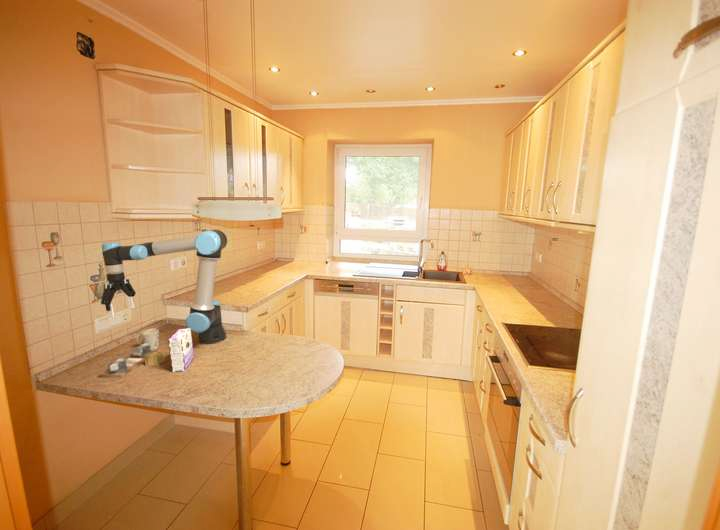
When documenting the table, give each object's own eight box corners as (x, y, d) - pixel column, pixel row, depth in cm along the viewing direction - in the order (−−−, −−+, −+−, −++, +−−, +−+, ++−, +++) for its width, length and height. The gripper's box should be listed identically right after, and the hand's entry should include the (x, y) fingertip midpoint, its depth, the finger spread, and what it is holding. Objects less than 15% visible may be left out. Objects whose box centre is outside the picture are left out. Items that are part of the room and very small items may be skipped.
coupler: (164, 361, 170) (162, 351, 169) (157, 365, 165) (156, 356, 164) (152, 361, 170) (151, 351, 169) (145, 365, 165) (144, 356, 164)
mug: (155, 351, 182) (152, 333, 180) (132, 351, 182) (129, 334, 180) (164, 345, 190) (161, 328, 188) (142, 345, 190) (139, 328, 189)
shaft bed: (138, 353, 180) (136, 342, 179) (158, 353, 180) (156, 342, 179) (98, 377, 155) (96, 364, 154) (121, 377, 154) (119, 364, 153)
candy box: (182, 359, 171) (178, 328, 168) (194, 358, 172) (191, 327, 169) (171, 372, 157) (167, 339, 154) (185, 371, 158) (181, 337, 155)
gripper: (126, 268, 186) (132, 305, 189) (87, 277, 161) (94, 320, 165) (139, 268, 185) (145, 305, 189) (101, 277, 161) (108, 320, 164)
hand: (121, 312), depth 177 cm, fingers open, 13 cm apart
